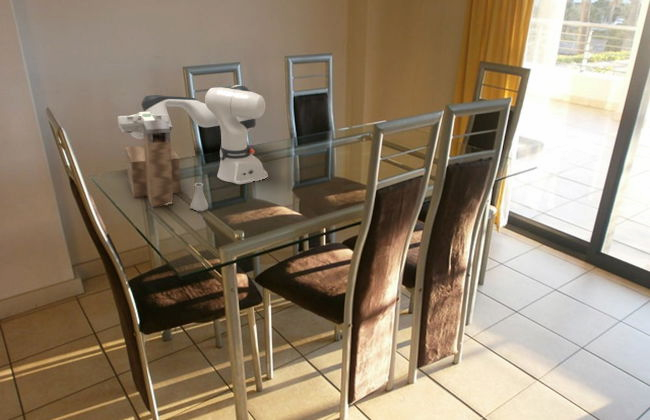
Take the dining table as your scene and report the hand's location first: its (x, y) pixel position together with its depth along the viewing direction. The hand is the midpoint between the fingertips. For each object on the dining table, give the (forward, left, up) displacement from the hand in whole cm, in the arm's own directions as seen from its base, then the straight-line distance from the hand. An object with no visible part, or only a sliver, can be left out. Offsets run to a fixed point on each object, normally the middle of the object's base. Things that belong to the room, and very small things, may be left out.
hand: (145, 116), depth 207 cm
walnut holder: (0, +14, -27) cm, 30 cm away
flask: (-13, +32, -28) cm, 44 cm away
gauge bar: (0, +7, -2) cm, 8 cm away
